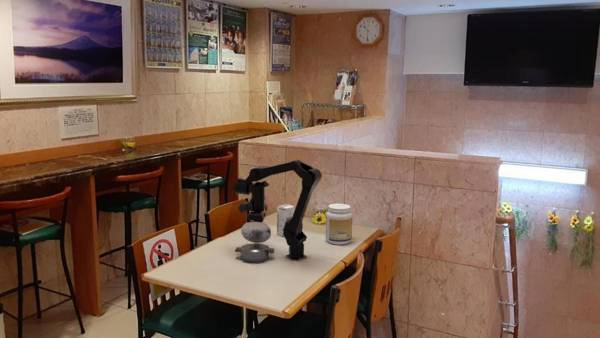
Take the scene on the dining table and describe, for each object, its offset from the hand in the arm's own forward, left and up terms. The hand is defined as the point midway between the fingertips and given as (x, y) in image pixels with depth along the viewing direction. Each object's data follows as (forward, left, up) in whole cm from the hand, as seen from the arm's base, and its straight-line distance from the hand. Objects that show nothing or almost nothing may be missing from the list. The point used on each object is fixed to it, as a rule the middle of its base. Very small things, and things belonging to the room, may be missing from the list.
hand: (258, 230), depth 217 cm
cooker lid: (-5, +4, +1) cm, 6 cm away
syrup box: (+12, -23, -9) cm, 27 cm away
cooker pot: (-7, +6, -9) cm, 13 cm away
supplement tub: (-10, -38, -9) cm, 40 cm away
